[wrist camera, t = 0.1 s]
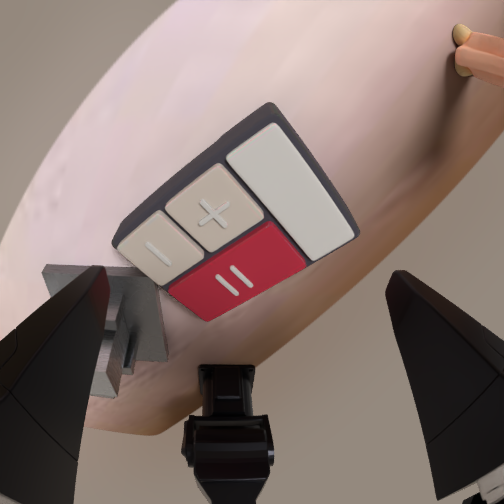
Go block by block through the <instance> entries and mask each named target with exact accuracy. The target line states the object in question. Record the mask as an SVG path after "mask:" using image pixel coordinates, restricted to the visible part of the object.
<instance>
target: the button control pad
mask: <svg viewBox="0 0 504 504" xmlns="http://www.w3.org/2000/svg"><path fill="white" fill-rule="evenodd" d="M359 235H360V230H359V228H358V226H357V224H356V222H355V220H354V218H353V216H352V214H351V212H350V211H349V209H348V207H347V205H346V204H345V202H344V201H343V199H342V198H341V196H340V195H339V193H338V192H337V190H336V189H335V187H334V186H333V184H332V183H331V181H330V180H329V178H328V177H327V175H326V174H325V172H324V171H323V169H322V168H321V166H320V165H319V163H318V162H317V161H316V159H315V158H314V156H313V155H312V153H311V152H310V151H309V149H308V148H307V146H306V145H305V144H304V142H303V141H302V140H301V138H300V137H299V135H298V134H297V133H296V131H295V130H294V129H293V127H292V126H291V125H290V123H289V122H288V121H287V119H286V118H285V117H284V115H283V114H282V113H281V111H280V110H279V109H278V108H277V106H276V105H275V104H274V103H271V102H268V103H266V104H264V105H263V106H261V107H260V108H258V109H257V110H256V111H254V112H253V113H252V114H250V115H249V116H247V117H246V118H245V119H243V120H242V121H241V122H239V123H238V124H237V125H235V126H234V127H233V128H231V129H230V130H229V131H228V132H226V133H225V134H224V135H223V136H221V137H220V138H219V139H218V140H217V141H216V142H215V143H214V144H212V145H211V146H210V147H209V148H207V149H206V150H205V151H203V152H202V153H201V154H200V155H198V156H197V157H196V158H195V159H193V160H192V161H191V162H190V163H188V164H187V165H186V166H185V167H183V168H182V169H181V170H180V171H179V172H177V173H176V174H175V175H174V176H173V177H171V178H170V179H169V180H168V181H167V182H165V183H164V184H163V185H162V186H161V187H160V188H158V189H157V190H156V191H155V192H154V193H153V194H151V195H150V196H149V197H148V198H147V199H146V200H145V201H144V202H143V203H141V204H140V205H139V206H138V207H137V208H136V209H135V210H134V211H133V212H132V213H130V214H129V215H128V216H127V217H126V218H125V219H124V220H123V221H122V222H121V224H120V226H119V228H118V230H117V232H116V234H115V236H114V238H113V240H112V245H113V247H114V248H115V249H116V250H118V251H119V252H120V253H121V254H122V255H123V256H124V257H125V258H127V259H128V260H129V261H130V262H131V263H133V264H134V265H135V266H136V267H137V268H139V269H140V270H141V271H142V272H143V273H145V274H146V275H147V276H148V277H149V278H151V279H152V280H153V281H154V282H156V283H157V284H158V285H160V286H161V287H162V288H163V289H165V290H166V291H167V292H168V293H169V294H171V295H172V296H173V297H174V298H176V299H177V300H178V301H179V302H181V303H182V304H183V305H185V306H186V307H187V308H188V309H190V310H191V311H192V312H194V313H195V314H196V315H198V316H199V317H200V318H201V319H203V320H204V321H206V322H208V321H211V320H213V319H214V318H216V317H218V316H220V315H222V314H224V313H226V312H227V311H229V310H231V309H233V308H235V307H237V306H238V305H240V304H242V303H244V302H246V301H248V300H249V299H251V298H253V297H255V296H257V295H258V294H260V293H262V292H264V291H266V290H267V289H269V288H271V287H273V286H274V285H276V284H278V283H280V282H282V281H283V280H285V279H287V278H289V277H290V276H292V275H294V274H296V273H297V272H299V271H301V270H302V269H304V268H306V267H308V266H309V265H311V264H313V263H315V262H316V261H318V260H320V259H321V258H323V257H325V256H327V255H328V254H330V253H332V252H333V251H335V250H337V249H339V248H340V247H342V246H344V245H345V244H347V243H349V242H350V241H352V240H354V239H355V238H357V237H358V236H359Z"/></svg>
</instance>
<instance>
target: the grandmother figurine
mask: <svg viewBox="0 0 504 504" xmlns="http://www.w3.org/2000/svg"><path fill="white" fill-rule="evenodd" d="M453 37H454V40H455V42H456V43H457V44H458V45H459V46H460V47H458V48H457V49H456V53H455V69H456V71H457V73H458V74H459V75H461V76H470V75H474V76H475V77H476V78H479V79H481V80H484V81H486V82H489V83H491V84H494V85H496V86H500V87H503V88H504V39H503V38H499V37H496V36H492V35H488V34H483V33H477V32H472V31H471V30H469V29H468V28H467V27H466V26H464V25H462V24H457V25H456V26H455V27H454V30H453Z"/></svg>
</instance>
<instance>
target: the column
mask: <svg viewBox="0 0 504 504" xmlns="http://www.w3.org/2000/svg"><path fill="white" fill-rule="evenodd" d="M128 342H129V334H128V331H127V327H126V323H125V320H124V316H123V314H122V318H121V321H120V325H119V329H118V330H105V329H104V335H103V340H102V344H101V348H100V352H99V356H98V360H97V364H96V368H95V373H94V377H93V381H92V386H91V391H90V395H91V396H98V397H105V398H113V399H114V398H115V397H117V396H118V391H119V386H120V380H121V375H122V370H123V366H124V361H125V356H126V351H127V347H128Z"/></svg>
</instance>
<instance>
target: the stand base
mask: <svg viewBox="0 0 504 504" xmlns="http://www.w3.org/2000/svg"><path fill="white" fill-rule="evenodd" d="M89 267H90V266H75V265H50V264H46V266H45V268H44V269H43V271H42V275H43V278H44V280H45V283H46V286H47V288H48V291H49V293H50V296H51V297H52V296H54V295H55V294H56V293H57V292H58V291H60V290H61V289H62V288H63V287H65V286H66V285H67V284H68V283H70V282H71V281H72V280H73V279H75V278H76V277H77V276H78V275H80V274H81V273H82V272H84V271H85V270H86V269H87V268H89ZM105 269H106V272H107V277H108V281H109V285H110V298H109V304H108V310H107V316H106V322H105V330H118V329H119V325H120V321H121V318H122V314H123V316H124V320H125V323H126V327H127V331H128V334H129V342H128V347H127V351H126V356H125V361H124V366H123V370H122V374H127V375H133V373H134V367H135V362H136V360H142V361H158V362H168V355H169V353H168V347H167V342H166V336H165V330H164V324H163V318H162V311H161V305H160V298H159V291H158V284H157V283H156V282H154V281H153V280H152V279H151V278H149V277H148V276H147V275H146V274H145V273H143V272H142V271H141V270H140V269H139V268H132V267H105Z"/></svg>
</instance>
